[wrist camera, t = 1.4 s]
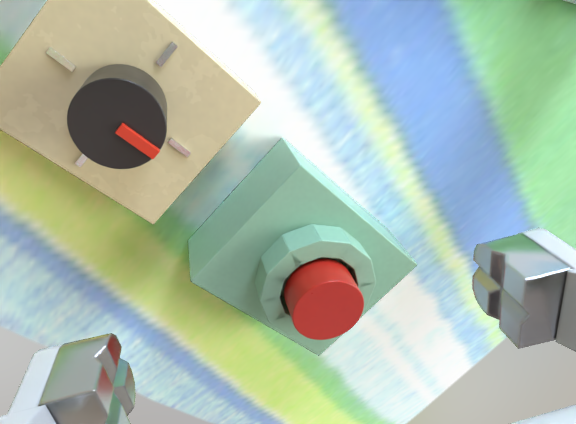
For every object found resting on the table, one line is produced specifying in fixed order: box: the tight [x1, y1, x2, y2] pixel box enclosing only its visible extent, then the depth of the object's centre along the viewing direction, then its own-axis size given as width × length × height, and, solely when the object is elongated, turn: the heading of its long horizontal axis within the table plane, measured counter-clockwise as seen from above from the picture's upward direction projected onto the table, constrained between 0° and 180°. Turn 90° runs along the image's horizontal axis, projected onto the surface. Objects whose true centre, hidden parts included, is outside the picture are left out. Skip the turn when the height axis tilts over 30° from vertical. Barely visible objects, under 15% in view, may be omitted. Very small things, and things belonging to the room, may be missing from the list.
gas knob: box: [67, 64, 167, 169], centre depth 22 cm, size 4×4×4 cm
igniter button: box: [284, 259, 364, 340], centre depth 27 cm, size 4×4×2 cm
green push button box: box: [188, 138, 417, 356], centre depth 31 cm, size 12×10×7 cm
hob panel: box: [0, 0, 261, 224], centre depth 25 cm, size 11×10×3 cm
